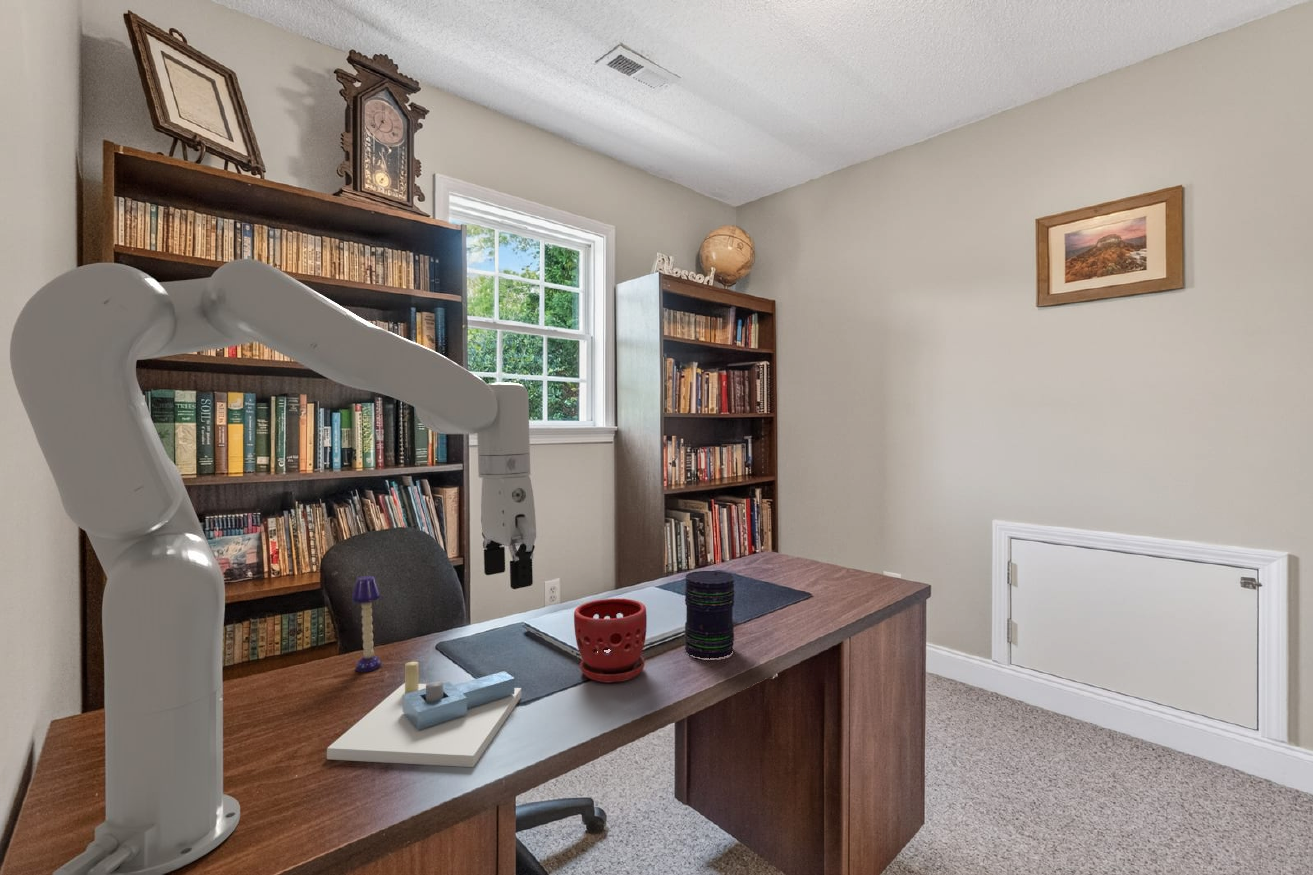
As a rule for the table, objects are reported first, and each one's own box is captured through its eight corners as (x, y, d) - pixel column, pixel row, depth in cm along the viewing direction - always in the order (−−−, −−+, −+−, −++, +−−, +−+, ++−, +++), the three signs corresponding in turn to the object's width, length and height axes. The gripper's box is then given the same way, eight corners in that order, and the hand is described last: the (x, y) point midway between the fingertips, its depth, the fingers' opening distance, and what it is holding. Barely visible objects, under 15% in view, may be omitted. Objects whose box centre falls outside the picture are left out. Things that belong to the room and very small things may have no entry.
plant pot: (623, 653, 114) (623, 593, 114) (660, 677, 104) (660, 610, 103) (562, 668, 107) (562, 603, 107) (594, 695, 96) (595, 623, 96)
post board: (473, 767, 76) (473, 721, 75) (327, 759, 77) (327, 714, 77) (521, 697, 95) (521, 660, 95) (404, 692, 97) (404, 656, 97)
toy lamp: (359, 675, 104) (359, 581, 104) (347, 668, 107) (347, 577, 106) (385, 666, 108) (385, 576, 107) (373, 660, 110) (373, 572, 110)
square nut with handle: (418, 729, 81) (418, 712, 81) (402, 711, 87) (402, 694, 87) (519, 697, 91) (519, 681, 91) (499, 682, 97) (499, 667, 97)
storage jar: (720, 665, 109) (721, 585, 109) (675, 654, 114) (675, 578, 114) (741, 648, 118) (742, 574, 117) (698, 639, 123) (699, 568, 123)
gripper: (554, 467, 82) (557, 587, 83) (504, 462, 96) (507, 565, 96) (504, 471, 77) (507, 598, 78) (459, 464, 91) (462, 573, 92)
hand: (507, 580), depth 87 cm, fingers open, 9 cm apart
